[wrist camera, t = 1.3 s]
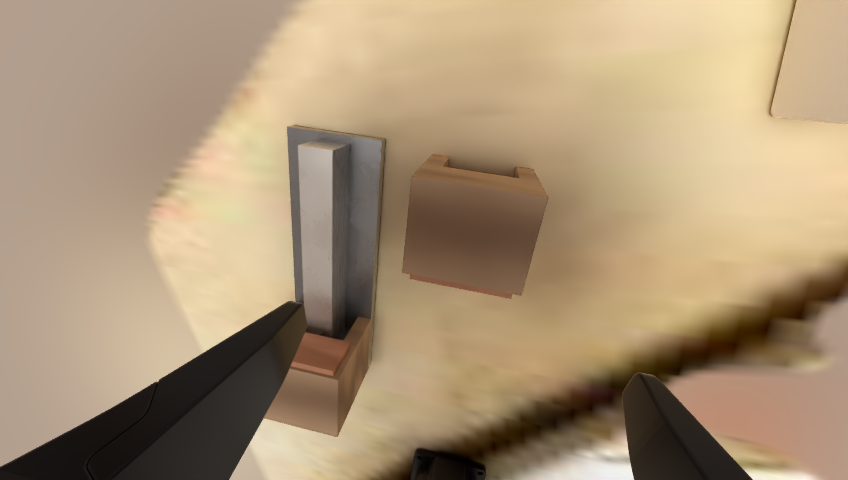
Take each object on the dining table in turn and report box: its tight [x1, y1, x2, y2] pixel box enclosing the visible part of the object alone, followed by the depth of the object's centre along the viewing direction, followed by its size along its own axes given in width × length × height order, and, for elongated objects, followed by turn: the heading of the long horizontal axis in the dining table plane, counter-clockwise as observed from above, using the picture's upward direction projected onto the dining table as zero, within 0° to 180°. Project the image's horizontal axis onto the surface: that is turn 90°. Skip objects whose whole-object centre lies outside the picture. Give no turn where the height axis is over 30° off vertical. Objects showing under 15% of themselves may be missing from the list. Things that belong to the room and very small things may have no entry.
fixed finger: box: [264, 317, 371, 437], centre depth 24 cm, size 5×6×6 cm
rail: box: [287, 126, 386, 368], centre depth 24 cm, size 18×6×3 cm, turn 174°
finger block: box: [402, 154, 548, 299], centre depth 19 cm, size 5×6×6 cm
